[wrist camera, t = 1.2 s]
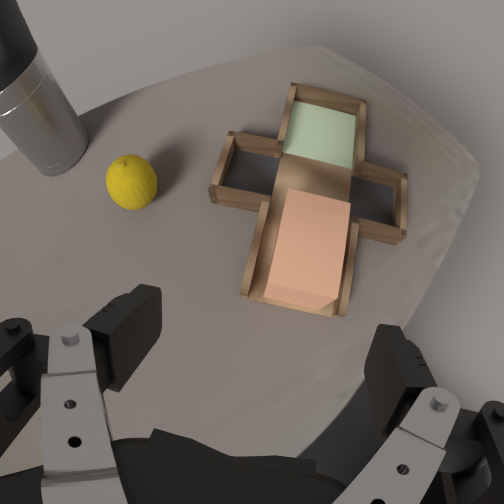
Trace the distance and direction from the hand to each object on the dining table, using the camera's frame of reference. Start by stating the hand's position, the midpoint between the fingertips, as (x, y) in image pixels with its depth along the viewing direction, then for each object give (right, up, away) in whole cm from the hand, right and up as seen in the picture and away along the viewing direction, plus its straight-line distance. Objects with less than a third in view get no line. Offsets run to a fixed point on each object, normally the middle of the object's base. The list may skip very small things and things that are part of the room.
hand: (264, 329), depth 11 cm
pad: (+9, +18, +29) cm, 35 cm away
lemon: (-14, +9, +26) cm, 30 cm away
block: (+5, +2, +23) cm, 23 cm away
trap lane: (+7, +10, +26) cm, 29 cm away
